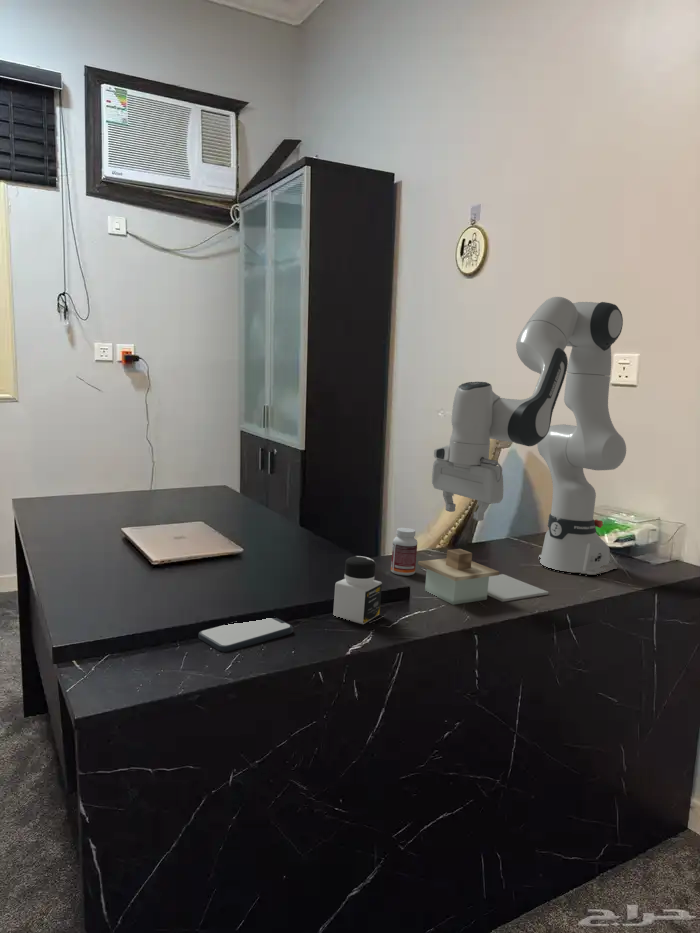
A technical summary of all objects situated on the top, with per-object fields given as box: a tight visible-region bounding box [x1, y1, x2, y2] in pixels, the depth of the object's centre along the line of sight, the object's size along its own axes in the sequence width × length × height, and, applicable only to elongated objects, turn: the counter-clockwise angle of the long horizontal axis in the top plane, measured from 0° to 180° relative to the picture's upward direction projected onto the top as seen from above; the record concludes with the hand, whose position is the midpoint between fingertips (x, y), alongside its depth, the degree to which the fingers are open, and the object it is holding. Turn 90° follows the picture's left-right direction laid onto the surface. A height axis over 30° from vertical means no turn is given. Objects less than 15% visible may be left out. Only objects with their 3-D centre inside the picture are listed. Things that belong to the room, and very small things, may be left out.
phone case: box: [198, 617, 294, 653], centre depth 124 cm, size 9×2×16 cm
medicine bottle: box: [332, 555, 383, 625], centre depth 137 cm, size 7×7×12 cm
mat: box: [487, 573, 549, 603], centre depth 163 cm, size 15×15×1 cm
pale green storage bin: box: [424, 568, 489, 606], centre depth 155 cm, size 10×10×6 cm
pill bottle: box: [390, 527, 418, 576], centre depth 170 cm, size 6×6×11 cm
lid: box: [417, 548, 500, 581], centre depth 154 cm, size 13×13×4 cm
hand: (463, 515), depth 153 cm, fingers open, 8 cm apart
